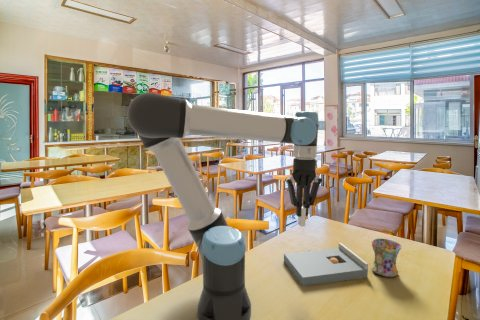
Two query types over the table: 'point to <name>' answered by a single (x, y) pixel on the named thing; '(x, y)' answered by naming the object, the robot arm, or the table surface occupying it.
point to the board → (326, 265)
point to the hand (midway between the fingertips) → (301, 225)
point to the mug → (385, 257)
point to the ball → (334, 260)
